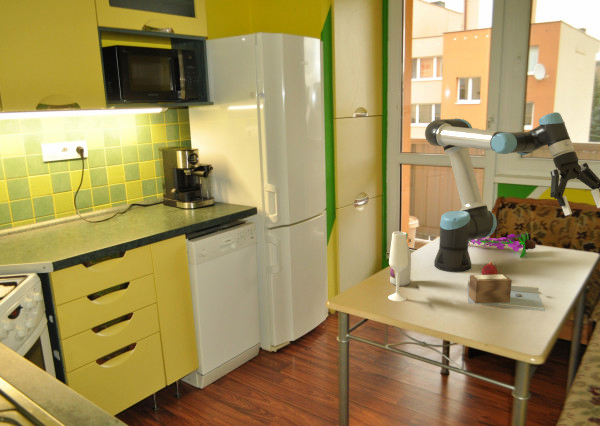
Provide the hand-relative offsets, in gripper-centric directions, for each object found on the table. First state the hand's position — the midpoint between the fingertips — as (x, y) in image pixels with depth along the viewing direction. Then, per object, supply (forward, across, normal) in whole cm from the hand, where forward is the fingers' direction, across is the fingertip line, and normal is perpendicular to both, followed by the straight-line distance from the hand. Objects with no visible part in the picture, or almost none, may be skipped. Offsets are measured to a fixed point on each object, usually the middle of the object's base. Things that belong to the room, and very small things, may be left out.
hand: (585, 211), depth 173 cm
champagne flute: (+13, -67, +23) cm, 72 cm away
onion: (+16, -26, +31) cm, 43 cm away
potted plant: (+4, +2, +65) cm, 65 cm away
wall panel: (+23, -32, +14) cm, 42 cm away
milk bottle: (+8, -59, +36) cm, 70 cm away
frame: (+21, -38, +13) cm, 46 cm away
